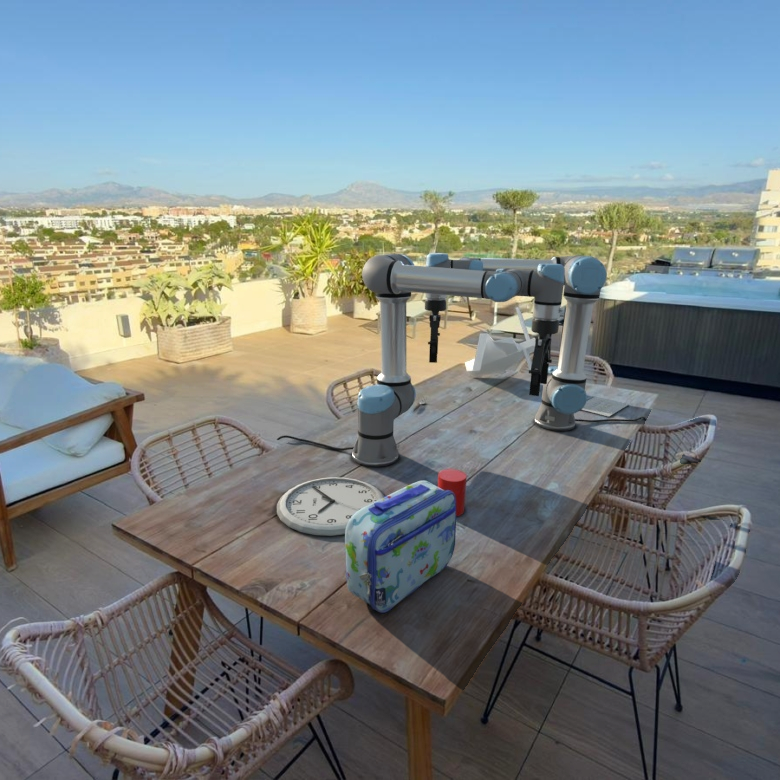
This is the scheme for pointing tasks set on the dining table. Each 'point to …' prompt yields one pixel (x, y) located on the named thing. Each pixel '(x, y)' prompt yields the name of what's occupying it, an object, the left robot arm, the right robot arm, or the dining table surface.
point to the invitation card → (603, 406)
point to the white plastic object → (500, 353)
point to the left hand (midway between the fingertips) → (538, 389)
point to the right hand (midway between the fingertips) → (433, 357)
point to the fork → (420, 403)
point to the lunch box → (399, 543)
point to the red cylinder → (454, 486)
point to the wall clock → (325, 504)
